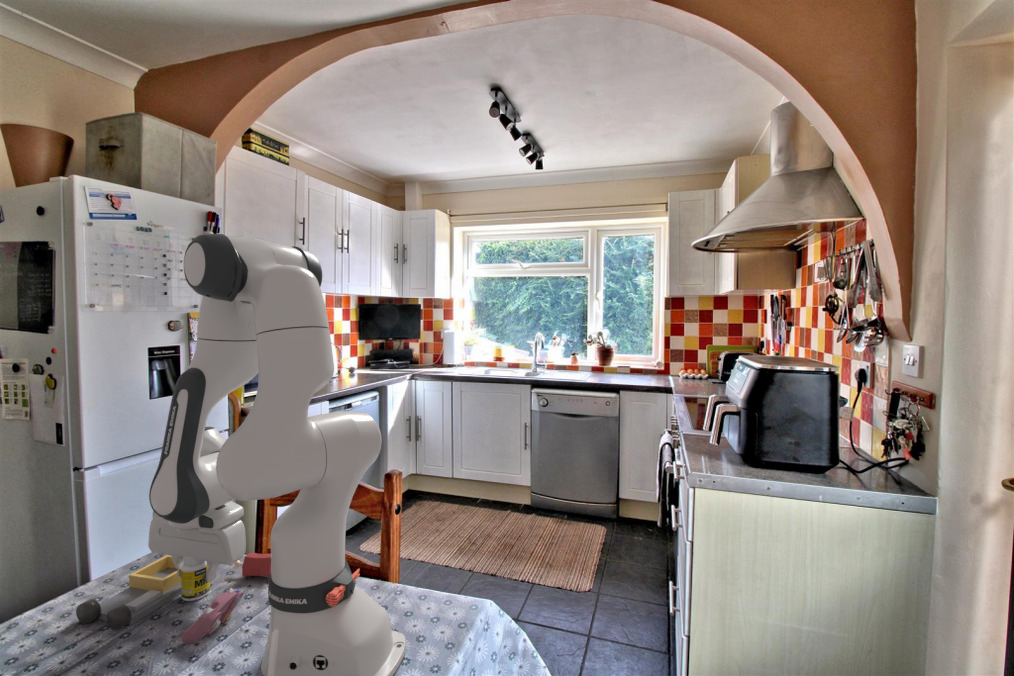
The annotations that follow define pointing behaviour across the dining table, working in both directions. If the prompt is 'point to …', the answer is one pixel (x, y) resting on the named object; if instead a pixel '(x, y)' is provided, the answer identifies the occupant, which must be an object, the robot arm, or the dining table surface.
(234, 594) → the video game controller
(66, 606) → the dining table surface
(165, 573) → the chassis
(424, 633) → the dining table surface
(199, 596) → the supplement bottle
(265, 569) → the meat
